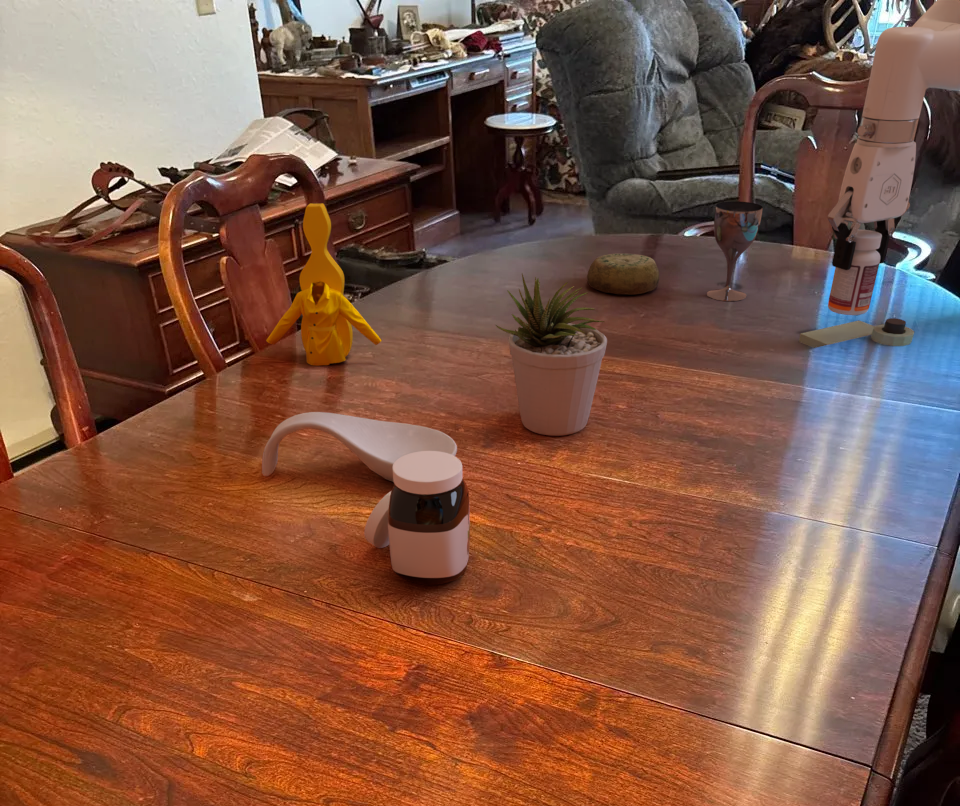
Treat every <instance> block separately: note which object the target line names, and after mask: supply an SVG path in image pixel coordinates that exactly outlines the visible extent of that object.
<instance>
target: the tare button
mask: <svg viewBox="0 0 960 806" xmlns="http://www.w3.org/2000/svg"><path fill="white" fill-rule="evenodd" d="M884 324H885V325H884V329H883V331H884V332H887V333H891V334H903V333H904V329H905V327H906V325H907V322H906V320H904V319H901V318H896V317H895V318H894V317H892V318H887V319H885V321H884Z"/></svg>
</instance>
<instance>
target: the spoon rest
mask: <svg viewBox="0 0 960 806" xmlns="http://www.w3.org/2000/svg"><path fill="white" fill-rule="evenodd" d="M309 429H310V430H318V431H322V432H324V433H327V434H328V435H330V436H332V437H334V438H335V439H337V441H339V442H340V443H342V445H344V447H346V448H347V449H349V450H350V451H351V453H353V454H354V456H355V457H357V458H358V459H359V460H360V461H361V462H362V463H363V464H364V465H365V467H367V468H368V469H369V470H371V471H372V472H373V473H375V474H377V475H378V476H380V477H382V478H383V479H385V480H387V481H389V482H391V483H394V482H393V468H392V467H393V464H394V462H395V461H396V460H397V459H399V458H400V457H402V456H404V455H407V454H410V453H414V452H420V451H439V452H445V453H448V454H451V455H453V456H455V457H456V455H457V452H458V446H457V442H456V441H455V440H454V439H453V438H452V437H451V436H449V435H448V434H447V433H445V432H443V431H440V430H438V429H435V428H430V427H429V426H428V427H427V426H423V425H419V424H411V423H404V422H397V421H395V422H394V421H387V420H379V419H371V418H366V417H360V416H353V415H348V414H342V413H333V412H326V411H325V412H324V411H309V412H302V413H299V414H295V415H292V416H290V417H288V418H286V419H284V420H283V421H281V422H280V423H279V424H278V425H277V426H276V427H275V428H274V430H273V432H272V434H271V436H270V437H269V439H268V441H267V442H266V444H265V446H264V449H263V453H262V459H261V474H262V476H264V477H269V476H271V475H272V474H273V473H274V472H275V470H276V467H277V465H278V462H279V461H278V460H279V447H280V446H279V445H280V443H281V441H282V440H284V438H285V437H287V436H289V435H290V434H293V433H295V432H298V431H303V430H309Z"/></svg>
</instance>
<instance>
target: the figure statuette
mask: <svg viewBox="0 0 960 806" xmlns="http://www.w3.org/2000/svg"><path fill="white" fill-rule="evenodd" d="M302 229H303V233H304V236H305V238H306V240H307V242H308V245H309V246H310V249H311V254H310V256H309V258H308V260H307V262H306V263H305V265H304V266H303V268H302V270H301V272H300V273H299V279H298V280H299V286H300V290H301V291H298V292H297V293H296V295H295V297H294V299H293V301H292V303H291V304H290V307H289V308H288V309H287V310H286V311H285V312H284V313H283V315H282V316H281V318H280V319H279V321H278V322H277V324H275V326H274V328H273V330H272V331H271V332H270V334H269V336H268V337H267V338H266V339H265V341H266V342H267V343H268V344H270V345H273V346H275V345H276V344H277V343H279V341H280V340H281V339H282V338H283V337H284V336H285V335H286V334H287V332H289V330H290V329H291V328H292V327H293V326H294V324H295V323H296V322H297V321H298V319H299V318H300V317H301V316H302V318H301V323H300V337H301V342H302V346H303V349H304V351H305V356H306V363H307V364H308V365H310V366H316V367H317V366H330V364H339V363H342V362H345V361H346V360H347V359H346V357H348V355H349V354H350V351H351V349H352V346H353V342H354V341H353V338H354V331H353V328H355V329H356V331H358V332H359V333H360V334H361V335H362V336H364V337H365V338H366V339H367V340H368V341H370V342H371V343H372V344H374V345H375V346H377V345H379V344H381V342H382V341H383V340H382V339H381V337H380V336H379V334H377V332H376V331H375V330H374V328H373V327H372V326H371V325H370V324H369V323H368V322H367V320H366V319H365V318H364V317H363V316H362V314H361V313H360V312H359V311H358V310H357V309H356V308H355V306H354V305H353V304H352V303H351V302H350V300H348V298H347V297H346V296H345V294H344V291H345V282H346V281H345V274H344V271H343V270H342V268H341V266H340V265H339V264H338V263H337V262H336V260H335V259H334V258H333V256H332V255H331V254H330V252H329V250H328V242H329V239H330V236H331V231H332V221H331V218H330V215H329V213H328V211H327V208H326V206H325V204H324V203H322V202H321V203H309V204H308V205H306V207H305V210H304V215H303V220H302Z"/></svg>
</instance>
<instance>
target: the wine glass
mask: <svg viewBox="0 0 960 806" xmlns="http://www.w3.org/2000/svg"><path fill="white" fill-rule="evenodd" d="M763 209H764V208H763V205H761V204H758V203H754V202H749V201H738V200H737V201H736V200H735V201H734V200H733V201H723V202H722V201H721V202H718V203H717V204H715V209H714V217H713V218H714V219H713V232H714V239H715V242H716V244H717V245H718V248H720V250H721V252H722V254H723V255H724V257H725V259H726V264H727V266H726V269H727V270H726V280H725V281H726V282H725V286H724V287H723V288H714V289H711V290H709V291H707V292H706V296H707V297H708V298H710V299H713V300H717V301H723V302H737V301H742V300H744V299H745V300H746V298H747V294H746V293H745V292H743V291H740V290H738V289H732V288H731V284H732V283H731V282H732V276H733V273H734V268H735V265H736V262H737V261H738V259H739V257H741V255H742V254H743V253H744V252H746V250H747V249H748V248H749V247H751V246H752V244H753V243H754V241H755V239H756V237H757V234H758V232H759V229H760V225H761V220H762V216H763Z"/></svg>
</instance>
